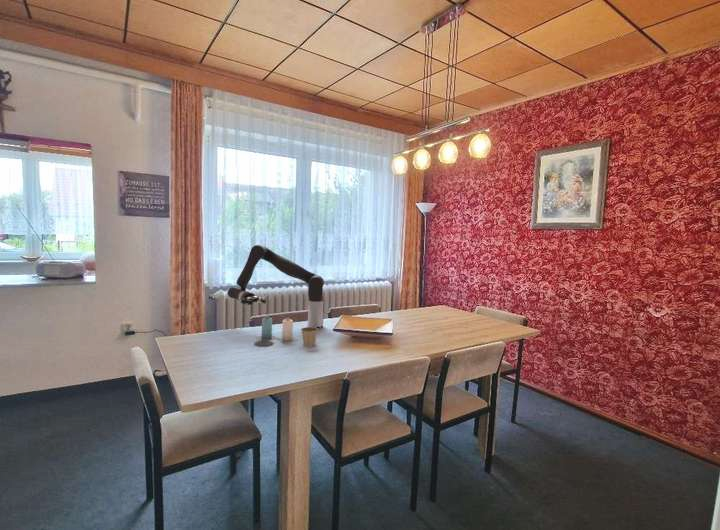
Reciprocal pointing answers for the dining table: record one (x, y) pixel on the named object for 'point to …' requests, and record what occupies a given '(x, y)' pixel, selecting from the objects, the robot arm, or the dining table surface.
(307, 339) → the flower pot
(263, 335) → the jar teal
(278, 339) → the tile
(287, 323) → the peach pillar candle
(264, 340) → the tile
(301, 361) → the dining table surface
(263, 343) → the mat
